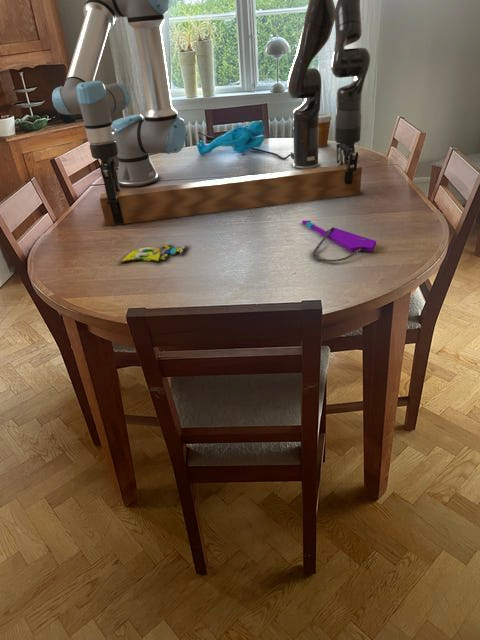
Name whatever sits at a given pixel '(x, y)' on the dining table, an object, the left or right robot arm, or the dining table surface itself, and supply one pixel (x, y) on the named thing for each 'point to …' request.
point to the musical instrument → (342, 240)
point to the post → (232, 194)
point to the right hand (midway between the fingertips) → (345, 181)
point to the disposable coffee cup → (323, 129)
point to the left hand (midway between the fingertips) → (119, 219)
